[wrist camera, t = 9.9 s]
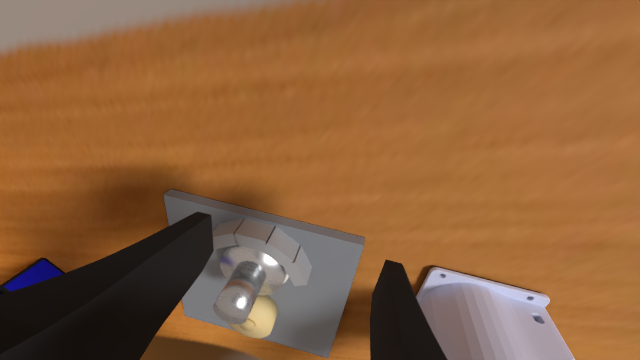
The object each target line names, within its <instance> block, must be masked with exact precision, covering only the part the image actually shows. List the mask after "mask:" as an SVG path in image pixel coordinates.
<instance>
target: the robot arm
mask: <svg viewBox="0 0 640 360" xmlns="http://www.w3.org/2000/svg"><path fill="white" fill-rule="evenodd" d="M213 252H214V246H213V232H212V218H211V215H209V214H206V213H202V212H198V211H197V212H195V213H193V214H191V215H189V216H187V217H186V218H184V219H182V220H180V221H178V222H176V223H174V224H172V225H170V226H169V227H167V228H165V229H163V230H161V231H159V232H157V233H155V234H153V235H151V236H149V237H147V238H145V239H143V240H141V241H139V242H137V243H135V244H133V245H131V246H129V247H127V248H124V249H122V250H120V251H118V252H116V253H114V254H112V255H109V256H107V257H105V258H103V259H100V260H98V261H95V262H93V263H90V264H88V265H85V266H83V267H80V268H78V269H75V270H73V271H70V272H67V273H64V274H62V275H59V276H56V277H53V278H50V279H47V280H44V281H41V282H38V283H36V284H33V285H30V286H27V287H24V288H20V289H17V290H14V291H10V292H7V293H4V294H1V295H0V360H140V358H141V356H142V355H143V353H144V352H145V350H146V349H147V347H148V345H149V343H150V342H151V341H152V339H153V337H154V336H155V334H156V333H157V331H158V330H159V329H160V327H161V326H162V324H163V323H164V321H165V320H166V319H167V318H168V316H169V315H170V314H171V312H172V311H173V310H174V308H175V307H176V306H177V304H178V303H179V302H180V300H181V299H182V298H183V297H184V295H185V294H186V293H187V291H188V290H189V289H190V287H191V286H192V285H193V283H194V282H195V281H196V279H197V278H198V277H199V275H200V274H201V272H202V271H203V269H204V267H205V266H206V264H207V262H208V260H209V259H210V257H211V255H212V253H213ZM440 274H443V275H440ZM549 302H550V299H549V298H548V296H547V295H545V294H541V293H537V292H533V291H529V290H525V289H522V288H518V287H514V286H510V285H506V284H502V283H498V282H494V281H490V280H486V279H482V278H478V277H474V276H470V275H466V274H462V273H458V272H455V271H451V270H447V269H443V268H439V267H433V268H431V269H430V271H429V273H428V274H427V276H426V278H425V280H424V282H423V284H422V286H421V288H420V290H419V292H418V294H417V296H415V294H414V291H413V289H412V286H411V284H410V282H409V279H408V277H407V274H406V272H405V269H404V266H403V265H402V264H401V263H397V262H393V261H389V260H386V261H385V263H384V266H383V268H382V271H381V273H380V276H379V279H378V281H377V284H376V286H375V289H374V292H373V295H372V305H371V316H370V351H371V360H575V358H574V357H573V355H572V353H571V352H570V350H569V348H568V347H567V345H566V343H565V341H564V340H563V338H562V336H561V335H560V333H559V331H558V329H557V328H556V326H555V324H554V323H553V321H552V319H551V317H550V316H549V314H548V312H547V311H546V309H545V307H546V306H547V305H548V304H549Z"/></svg>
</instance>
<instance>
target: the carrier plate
mask: <svg viewBox="0 0 640 360" xmlns="http://www.w3.org/2000/svg"><path fill="white" fill-rule="evenodd" d="M163 196H164V201H165V207H166V212H167V218H168V224H169V226H170V225H172V224H174V223H176V222H178V221H180V220H182V219H184V218H186V217H187V216H189V215H191V214H193V213H195V212H197V211H198V212H202V213H206V214H209V215H211V218H212V232H213V246H214V252H213V253H212V255H211V257H210V259H209V260H208V262H207V264H206V266H205V267H204V269H203V271H202V272H201V274H200V275H199V277H198V278H197V279H196V281H195V282H194V283H193V285H192V286H191V287H190V289H189V290H188V291H187V293H186V294H185V295H184V297H183V298H182V302H183V308H184V313H185V316H187V317H191V318H194V319H197V320H201V321H204V322H208V323H211V324H214V325H218V326H221V327H224V328H228V329H231V330H234V331H237V332H239V333H240V334H242V335H245V336H248V337H252V338H261V339H265V340H268V341H271V342H275V343H278V344H282V345H285V346H288V347H292V348H295V349H298V350H302V351H305V352H308V353H312V354H315V355H319V356H322V357H325V358H328V357H329V354H330V351H331V348H332V345H333V342H334V339H335V335H336V332H337V329H338V326H339V323H340V320H341V316H342V313H343V310H344V307H345V304H346V301H347V298H348V294H349V291H350V288H351V285H352V282H353V279H354V275H355V272H356V269H357V266H358V263H359V260H360V257H361V253H362V250H363V247H364V240H365V237H361V236H357V235H353V234H349V233H345V232H341V231H337V230H333V229H329V228H325V227H321V226H317V225H313V224H309V223H305V222H301V221H297V220H293V219H289V218H285V217H281V216H277V215H273V214H269V213H265V212H261V211H257V210H253V209H249V208H245V207H241V206H237V205H233V204H229V203H225V202H221V201H217V200H213V199H209V198H205V197H201V196H197V195H193V194H189V193H185V192H181V191H177V190H173V189H170V190H169V191H168V192H166V193H165V194H164V195H163ZM235 245H240V246H243V247H247V248H251V249H255V250H259V251H262V252H264V253H265V254H266V255H268V256H269V257H271V258H272V259H273V260H275V261H276V262H278V263H279V264H280V265H282V266H283V267H284V269H285V271H286V272H287V275H286V277H285V280H284V283H283V285H282V287H281V288H280V290H279V291H277V292H276V293H274V294H271V295H265V296H260V295H258V297H257V299H256V301H255V303H254V305H253V307H252V310H251V312H250V314H249V316H248V318H247V320H246V322H245V323H243V324H231V323H228V322H225V321H223V320H222V319H220V318H219V317H218V316H217V315H216V314H215V312H214V310H213V304H214V303H215V301H216V300H217V298H218V296H219V295H220V293H221V291H222V290H223V288H224V286H225V285H226V283H227V282H228V280H227V279H226V277H225V276H224V274H223V273H222V270H221V267H220V259H221V257H222V255H223V253H224V252H225V251H226V249H227V248H228V247H229V246H235Z"/></svg>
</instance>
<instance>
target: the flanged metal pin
mask: <svg viewBox="0 0 640 360" xmlns="http://www.w3.org/2000/svg"><path fill="white" fill-rule="evenodd" d="M220 267H221V270H222V273H223V274H224V276H225V277H226V279H227V280H228V282H227V283H226V285H225V286H224V288H223V290H222V291H221V293H220V295H219V296H218V298H217V300H216V301H215V303H214V304H213V310H214V312H215V314H216V315H217V316H218V317H219V318H220V319H222V320H223V321H225V322H228V323H231V324H243V323H245V322H246V320H247V318H248V316H249V314H250V312H251V310H252V307H253V305H254V303H255V301H256V299H257V297H258V295H260V296H265V295H271V294H274V293H276V292H277V291H279V290H280V288H281V287H282V285H283V283H284V280H285V277H286V275H287V272H286V271H285V269H284V267H283V266H282V265H280V264H279V263H278V262H276V261H275V260H273V259H272V258H271V257H269V256H268V255H266V254H265V253H264V252H262V251H259V250H255V249H251V248H247V247H243V246H240V245H235V246H229V247H228V248H227V249H226V251H225V252H224V253H223V255H222V257H221V259H220Z"/></svg>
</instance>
